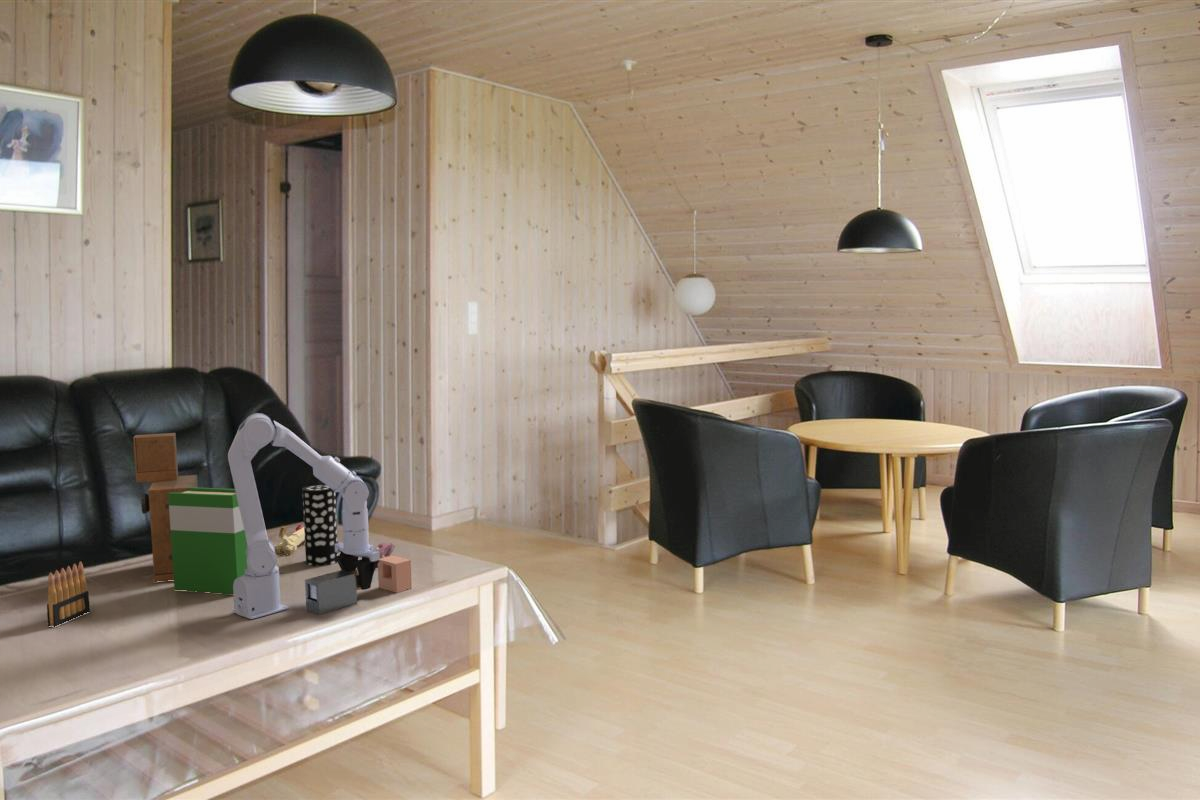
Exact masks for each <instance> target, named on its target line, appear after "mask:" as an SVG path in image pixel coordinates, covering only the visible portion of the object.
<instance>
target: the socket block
mask: <svg viewBox="0 0 1200 800" xmlns="http://www.w3.org/2000/svg"><path fill="white" fill-rule="evenodd" d="M411 564H412V561H411V559H408V558H404V557H400V556H396V555H392V554H391V555H390V556H388V557H384V558H381V559H380V560H379V563H378V566H377V571H378V581H377V583H378V589H382V590H385V591H390V592H393V593H396V594H398V593H401V592H405V591H408V590H407V589H409V590H411V589H410V588H412V565H411Z"/></svg>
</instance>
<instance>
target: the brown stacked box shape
mask: <svg viewBox="0 0 1200 800" xmlns="http://www.w3.org/2000/svg"><path fill="white" fill-rule="evenodd" d="M176 436H177V435H176V432H170V433H169V432H168V433H167V432H165V433H163V432H162V433H151V434H148V433H147V434H135V435H134V436H133V439H132V440H133V453H134V466H135V483H136V484H137V483H138V484H139V483H151V485H150V487H149V488H148V489H147V490H148V491H147V492H148V493H145V492H144V493H141V496H140V501H141V502H140V504H141V513H142V515H144V514H145V515H146V514H148V513H149V519H150V536H151V548H152V550H151V552H152V564H153V583H154V582H157V581H167V582H169V581H168V580H174V576H173V560H172V545H171V529H170V514H169V498H168V493H170V492H174V493H182V492H186V488H188V487H197V488H199V486H198V475H197V474H192V475H191V474H190V475H189V474H188V475H179V470H178V469H179V468H178V451H177V450H178V449H177V437H176Z"/></svg>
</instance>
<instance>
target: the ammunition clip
mask: <svg viewBox="0 0 1200 800" xmlns="http://www.w3.org/2000/svg"><path fill="white" fill-rule="evenodd" d="M47 579H48V580H47V584H48V585H47V587H48V588H47V589H48V590H47V601H48V603H47V604H46V614H47V615H46V616H47V627H48V626H54V627H55V626H57V625H59V624H62V623H64V622H66V621H69V620H71V619H73V618H76V617H78V616H80V615H83V614H84V613H87V612H90V613H91V607H90V604H91V603H90V596H89V591H88V590H87V580H86V575H85V570H84V566H83V562H82V561H79V563H78V566H77V564H76V563H73V564H72V569H71V567H70V565H68V566H67V567H66V570H65V569H64V567H61V569H60V573H59V571H58V570H57V569H55V571H54V575H53V573H52V571H51V572H49V573H48V578H47Z"/></svg>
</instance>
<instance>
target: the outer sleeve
mask: <svg viewBox="0 0 1200 800" xmlns="http://www.w3.org/2000/svg"><path fill="white" fill-rule="evenodd" d="M310 584H311V585H314V586H316V593H317V599H314V598H311V597H310ZM304 585H305V586H304V588H305V607H306V609H305V610H306V611H308V612H311V613H314V614H317V615H323V614H325V613H329V612H332V611H336V610H338V609H342V608H346V607H348V606H352V605H356V604H358V594H357V591H358V590H357V591H356V573H352V572H349V571H345V570H341V569H340V570H337V571H334V572H333V571H332V572H330V573H325V574H322V575H317V576H314V577H310V578H307V579H305V580H304Z"/></svg>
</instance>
